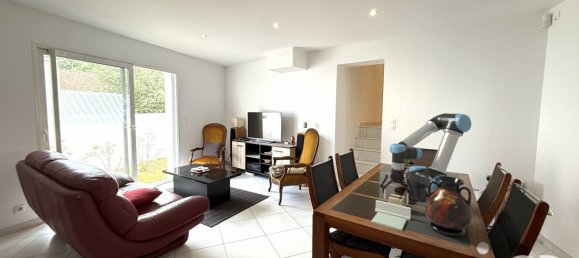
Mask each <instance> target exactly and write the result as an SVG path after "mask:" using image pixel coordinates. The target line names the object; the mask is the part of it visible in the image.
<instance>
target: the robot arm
mask: <svg viewBox="0 0 579 258" xmlns="http://www.w3.org/2000/svg"><path fill="white" fill-rule="evenodd" d="M471 128H472V120H471V118H470V116H468V115H467V114H464V113H439V114H438V115H436V116H433V117H431V118H430V119H428V120H427V121H425V124H424V125H423V126H421V127H420V128H418V129H417V130H416V131H414V132H412V133H411V134H409V135H408V136H406V137H405V138H403V140H401V141H399V142H398V143H392V144H391V145H390V146H389V152H390V153H391V169H390V170H391V171H390V174H389V173H386V174H385V177H384V179H383V181H382V182H381V184H380V185H379V188H381V189H382V194H383V199H384V200H385V199H386V198H387V187H388V186H389V185H390V184H392V183H394V184H397V185H398V184H399V185H402V187H403V189H404V190H405V192H404V193H405V194H404V197H405V198H406V202H405V204H406V205H408V204H409V203H410V202H409V201H410V200H413V201H418V202H426V199H427V197H428V187H429V183H430V182H431V181H435V182H437V183H438V184H439V182H438V181H436V180H435V178H436V177H438V176H448V172H447V170H448V167H449V164H450V161H451V159H452V156H453V153H454V151H455V149H456V146H457V144H458V141H459V138H461V137H463V135H464V134H465V133H467V132H469V131H470V130H471ZM439 131H442V132H443V136H442V138H441V141H440V144H439V145H438V149H437V151H436V154H435V155H434V158H433V161H432V163H431V165H430V166H428V167H427V166H424V165H412V166H410V167H409V168H408V176H407V177H405V166H406V165H405V164H406V160H419V159H421V158H422V156H423V151H422V149H421V148H420V147H416V146H417V144H418V143H420V142H421V141H423V140H424V139H426V138H427V137H429V136H431V134H433V133H438V132H439ZM389 178H390V179H391V180H389V181H388V182H387V183H386V181H387V180H388V179H389ZM404 181H405V182H406V183H405V182H404ZM406 184H407V185H406ZM436 189H437V185H436V184H432V185H431V191H432V192H433V191H435V190H436Z"/></svg>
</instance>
